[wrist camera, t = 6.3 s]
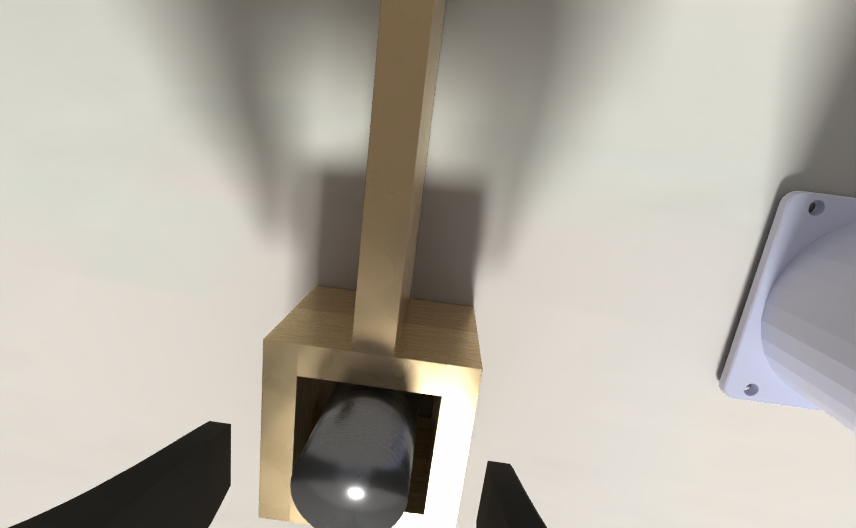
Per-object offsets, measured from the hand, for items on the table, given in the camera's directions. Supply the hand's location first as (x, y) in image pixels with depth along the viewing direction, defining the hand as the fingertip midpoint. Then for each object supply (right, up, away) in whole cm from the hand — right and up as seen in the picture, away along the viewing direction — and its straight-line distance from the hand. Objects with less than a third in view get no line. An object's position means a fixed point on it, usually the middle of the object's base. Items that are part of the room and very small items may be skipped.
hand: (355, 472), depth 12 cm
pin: (0, +2, +6) cm, 6 cm away
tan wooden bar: (0, +1, +6) cm, 6 cm away
